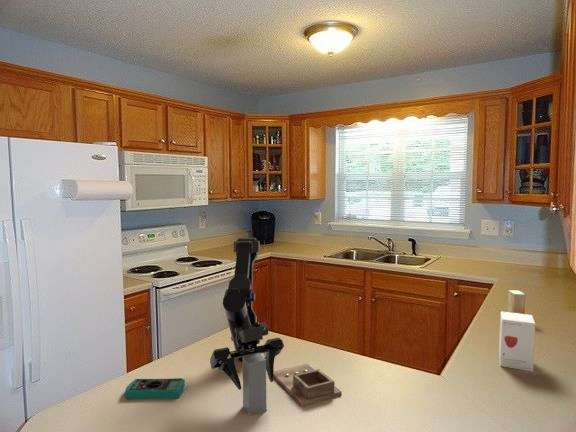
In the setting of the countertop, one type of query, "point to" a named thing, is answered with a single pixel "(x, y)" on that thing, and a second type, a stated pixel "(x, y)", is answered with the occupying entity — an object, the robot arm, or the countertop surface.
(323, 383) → the walnut holder
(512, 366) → the supplement box
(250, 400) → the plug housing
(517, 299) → the skincare box
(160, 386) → the digital multimeter
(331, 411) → the countertop surface
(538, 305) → the countertop surface
